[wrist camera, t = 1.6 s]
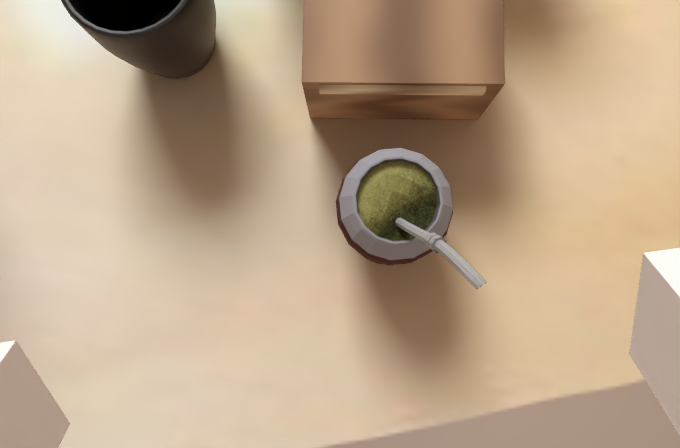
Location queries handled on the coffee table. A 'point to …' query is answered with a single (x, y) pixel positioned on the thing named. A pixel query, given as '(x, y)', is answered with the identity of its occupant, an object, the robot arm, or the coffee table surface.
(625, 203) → the coffee table surface
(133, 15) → the mug
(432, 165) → the mate gourd
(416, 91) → the tan block with ledge
